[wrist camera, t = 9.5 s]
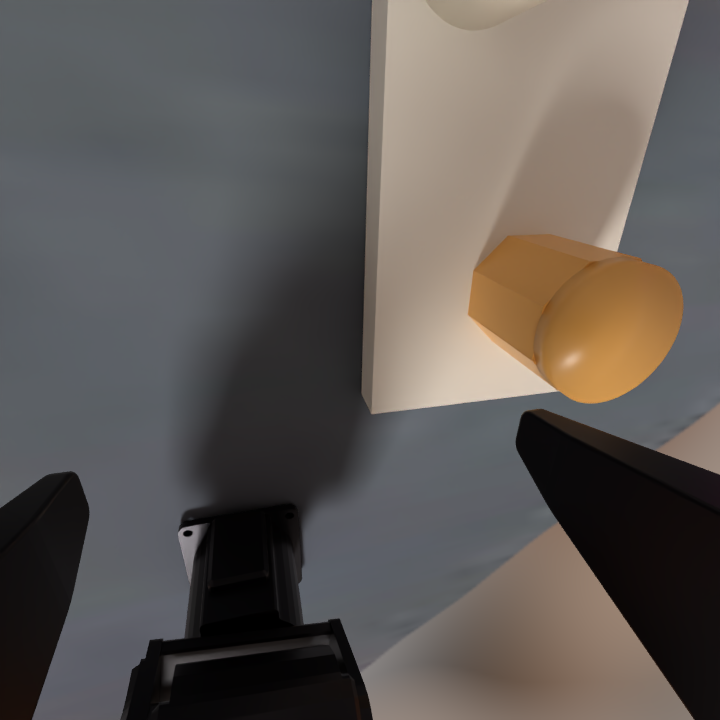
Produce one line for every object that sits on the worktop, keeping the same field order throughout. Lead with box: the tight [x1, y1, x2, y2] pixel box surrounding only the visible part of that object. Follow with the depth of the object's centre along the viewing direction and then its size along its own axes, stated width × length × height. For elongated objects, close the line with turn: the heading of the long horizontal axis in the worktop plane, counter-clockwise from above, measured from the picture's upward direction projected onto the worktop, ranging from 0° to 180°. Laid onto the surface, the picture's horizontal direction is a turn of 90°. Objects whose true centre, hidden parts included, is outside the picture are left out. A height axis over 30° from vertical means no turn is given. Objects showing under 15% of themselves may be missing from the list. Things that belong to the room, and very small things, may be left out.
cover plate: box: [361, 0, 689, 414], centre depth 16 cm, size 20×12×8 cm, turn 178°
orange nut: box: [468, 234, 683, 403], centre depth 17 cm, size 5×5×6 cm
